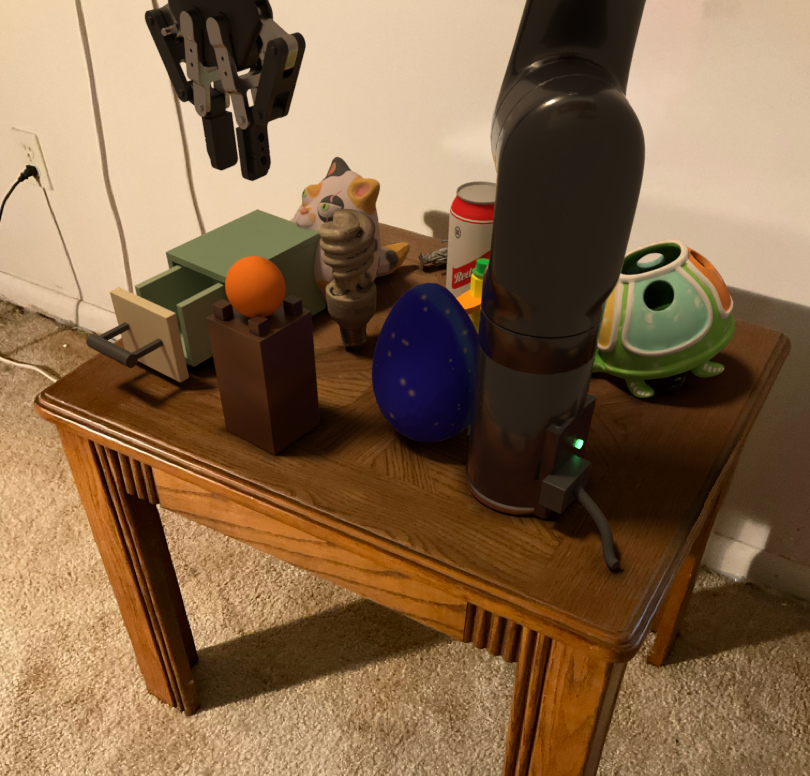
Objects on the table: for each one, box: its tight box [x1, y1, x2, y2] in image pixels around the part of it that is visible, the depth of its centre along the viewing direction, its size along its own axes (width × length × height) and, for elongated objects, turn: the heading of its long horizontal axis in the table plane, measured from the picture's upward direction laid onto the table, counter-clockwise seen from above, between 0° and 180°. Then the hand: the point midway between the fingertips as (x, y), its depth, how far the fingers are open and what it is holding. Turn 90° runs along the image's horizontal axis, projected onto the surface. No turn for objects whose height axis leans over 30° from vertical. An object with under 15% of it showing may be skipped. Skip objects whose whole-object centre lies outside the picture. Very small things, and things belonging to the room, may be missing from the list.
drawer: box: [85, 264, 229, 383], centre depth 84 cm, size 17×8×7 cm, turn 143°
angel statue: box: [418, 239, 448, 268], centre depth 103 cm, size 4×8×4 cm
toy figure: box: [456, 258, 489, 333], centre depth 82 cm, size 7×4×12 cm, turn 137°
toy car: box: [649, 370, 690, 391], centre depth 86 cm, size 8×3×2 cm, turn 151°
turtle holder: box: [592, 238, 736, 399], centre depth 82 cm, size 12×18×12 cm
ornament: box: [371, 282, 478, 443], centre depth 74 cm, size 11×9×15 cm
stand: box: [206, 295, 321, 456], centre depth 74 cm, size 6×6×13 cm
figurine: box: [289, 156, 411, 302], centre depth 95 cm, size 12×17×15 cm
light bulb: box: [318, 209, 377, 351], centre depth 84 cm, size 6×6×15 cm
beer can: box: [445, 180, 496, 319], centre depth 85 cm, size 6×6×16 cm
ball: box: [225, 256, 285, 318], centre depth 69 cm, size 5×5×5 cm
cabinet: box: [165, 208, 327, 317], centre depth 90 cm, size 14×10×9 cm
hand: (240, 170), depth 62 cm, fingers closed
